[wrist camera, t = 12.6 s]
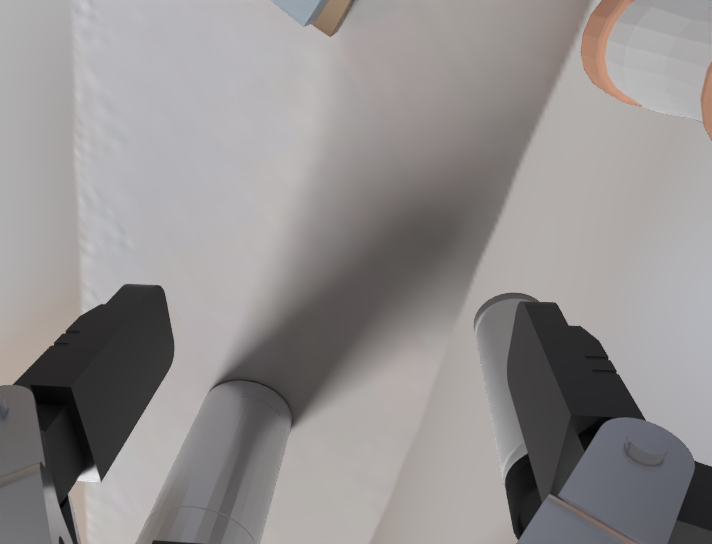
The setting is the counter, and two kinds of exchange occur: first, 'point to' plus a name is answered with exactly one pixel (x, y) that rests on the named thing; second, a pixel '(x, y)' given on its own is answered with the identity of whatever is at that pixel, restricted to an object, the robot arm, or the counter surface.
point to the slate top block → (302, 9)
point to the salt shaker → (653, 55)
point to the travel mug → (506, 406)
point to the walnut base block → (332, 16)
